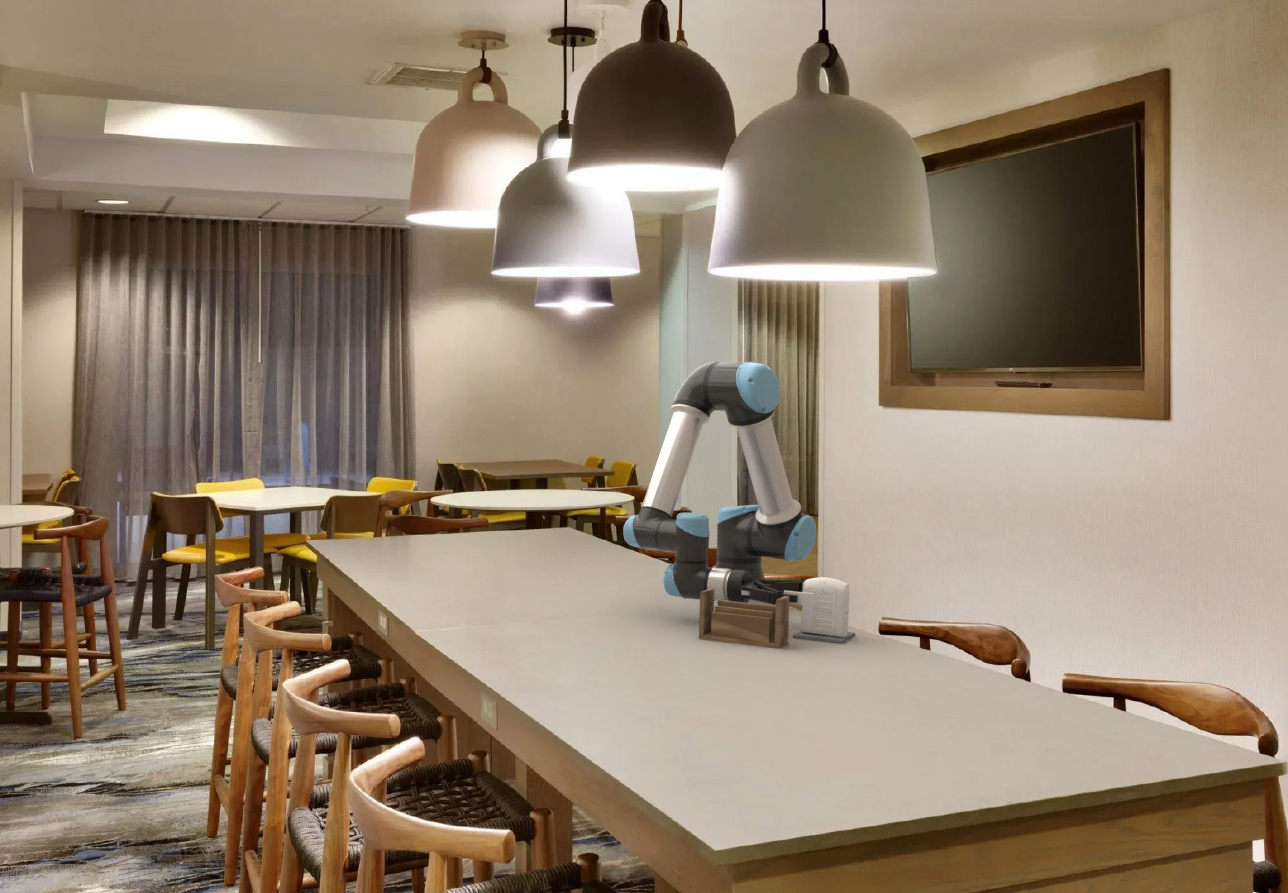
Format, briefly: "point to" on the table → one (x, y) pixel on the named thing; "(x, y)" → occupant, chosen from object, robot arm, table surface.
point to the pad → (823, 637)
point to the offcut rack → (744, 621)
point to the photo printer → (826, 607)
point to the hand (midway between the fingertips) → (822, 595)
